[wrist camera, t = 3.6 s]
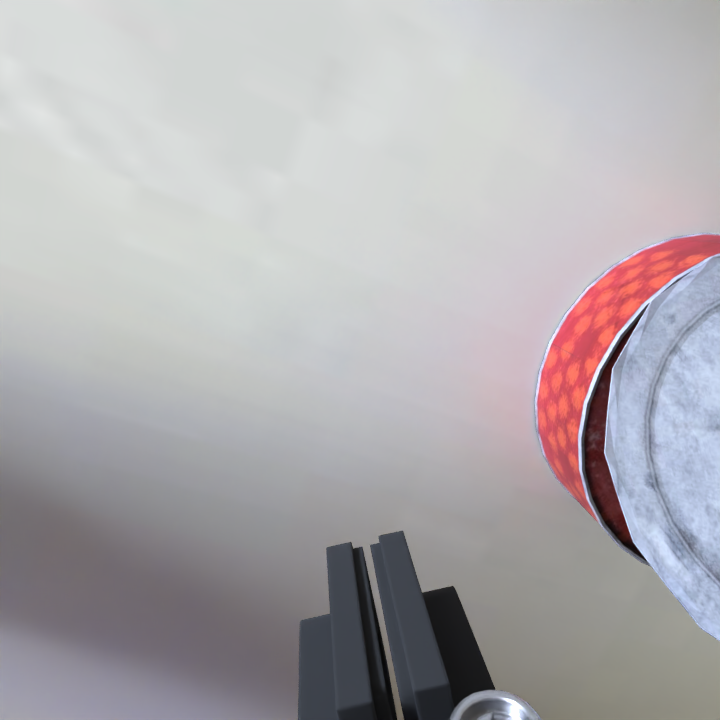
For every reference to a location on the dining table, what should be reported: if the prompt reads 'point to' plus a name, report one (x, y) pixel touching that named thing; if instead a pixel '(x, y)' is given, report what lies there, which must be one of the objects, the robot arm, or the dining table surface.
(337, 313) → the dining table surface
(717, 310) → the canned food
